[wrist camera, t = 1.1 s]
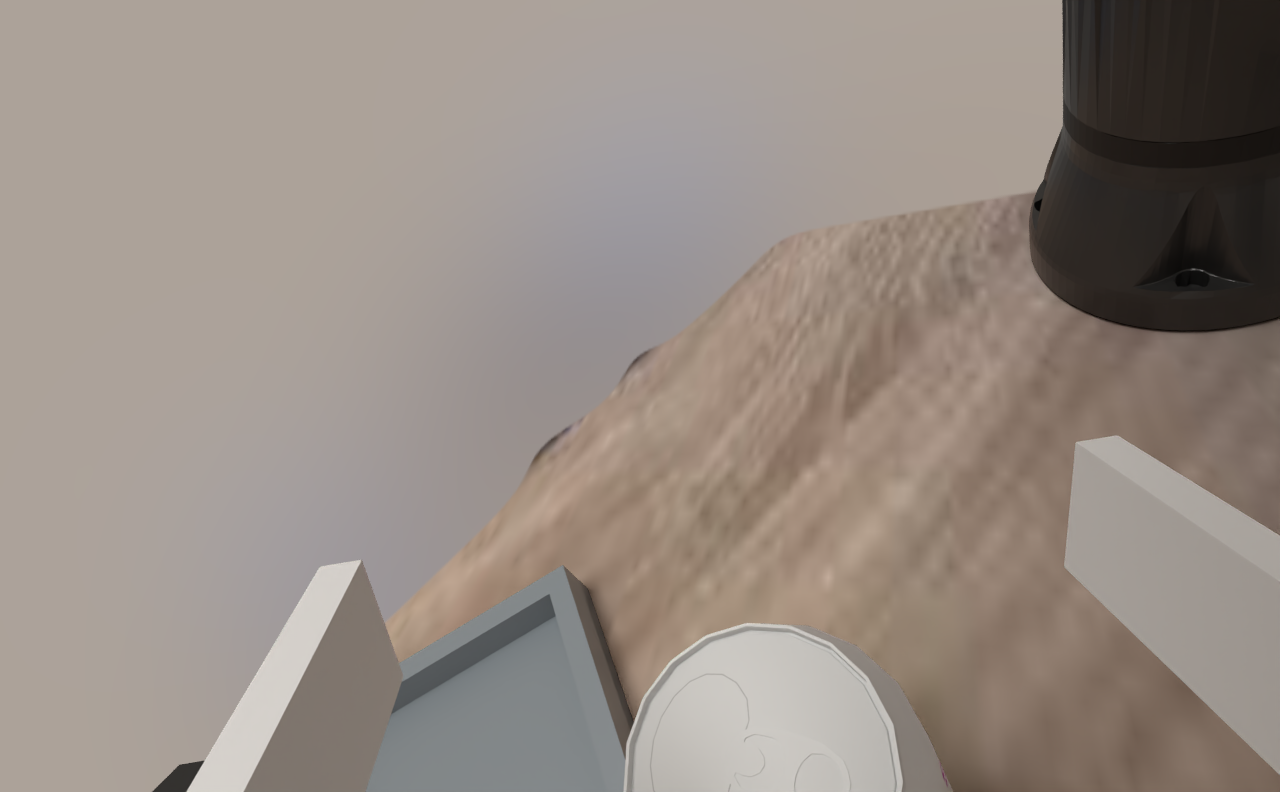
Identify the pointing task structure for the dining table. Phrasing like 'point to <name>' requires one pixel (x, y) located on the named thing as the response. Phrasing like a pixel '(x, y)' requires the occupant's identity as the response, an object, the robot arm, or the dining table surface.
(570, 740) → the tray
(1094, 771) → the dining table surface
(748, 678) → the supplement can
